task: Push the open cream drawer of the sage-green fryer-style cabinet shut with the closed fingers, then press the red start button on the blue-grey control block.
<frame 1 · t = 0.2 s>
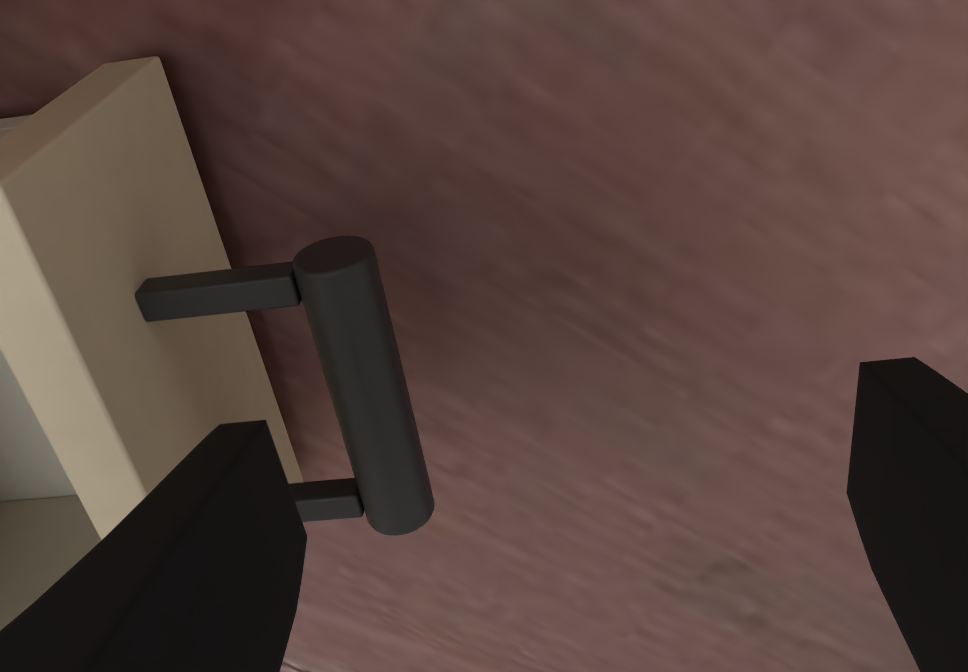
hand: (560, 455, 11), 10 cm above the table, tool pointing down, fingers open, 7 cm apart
drawer: (8, 407, 18), point 4 cm above the table, slide at 5.0 cm
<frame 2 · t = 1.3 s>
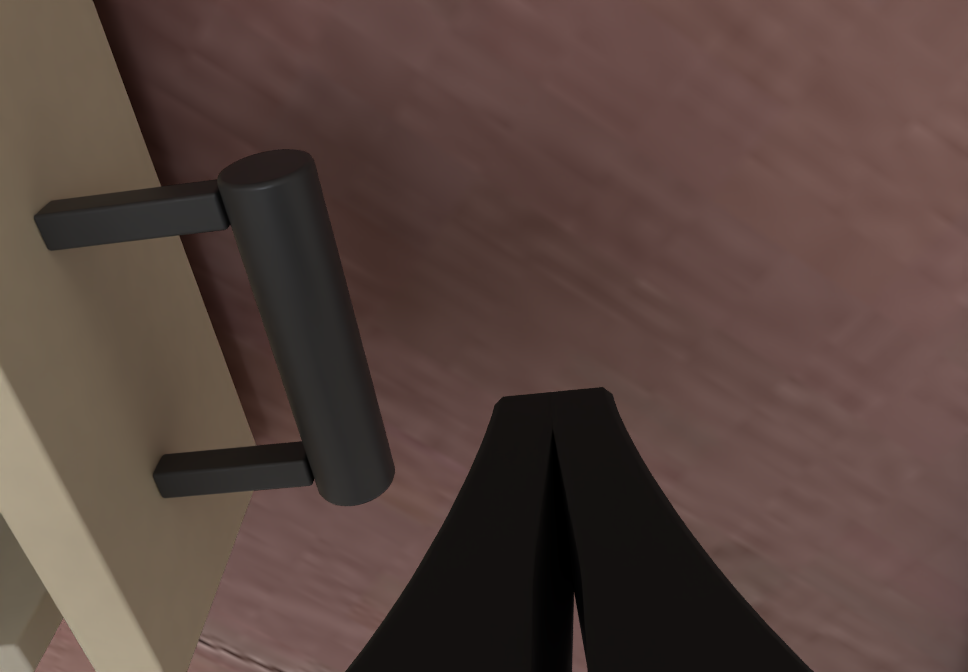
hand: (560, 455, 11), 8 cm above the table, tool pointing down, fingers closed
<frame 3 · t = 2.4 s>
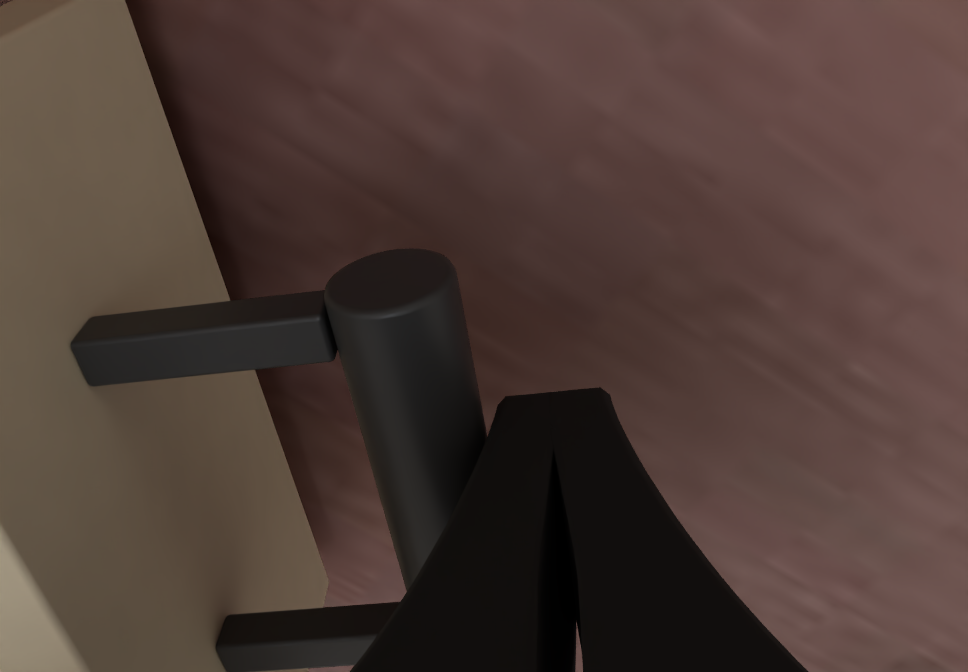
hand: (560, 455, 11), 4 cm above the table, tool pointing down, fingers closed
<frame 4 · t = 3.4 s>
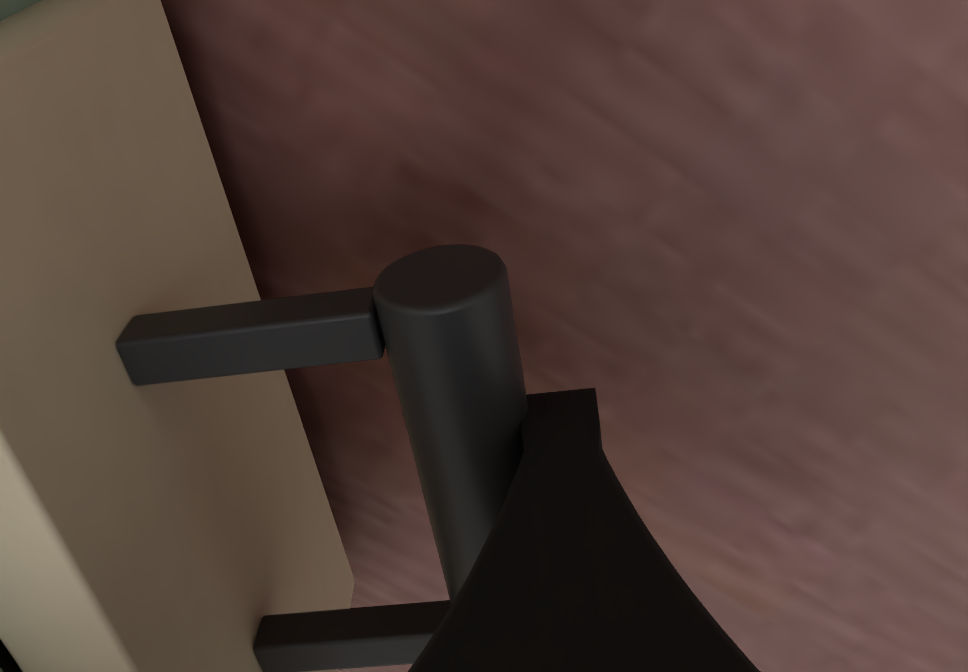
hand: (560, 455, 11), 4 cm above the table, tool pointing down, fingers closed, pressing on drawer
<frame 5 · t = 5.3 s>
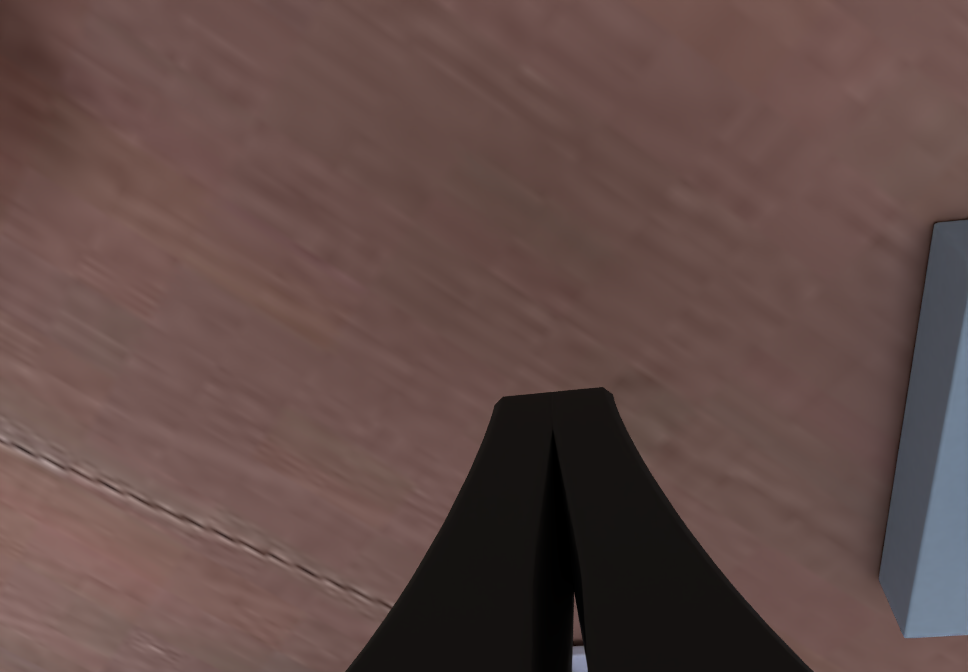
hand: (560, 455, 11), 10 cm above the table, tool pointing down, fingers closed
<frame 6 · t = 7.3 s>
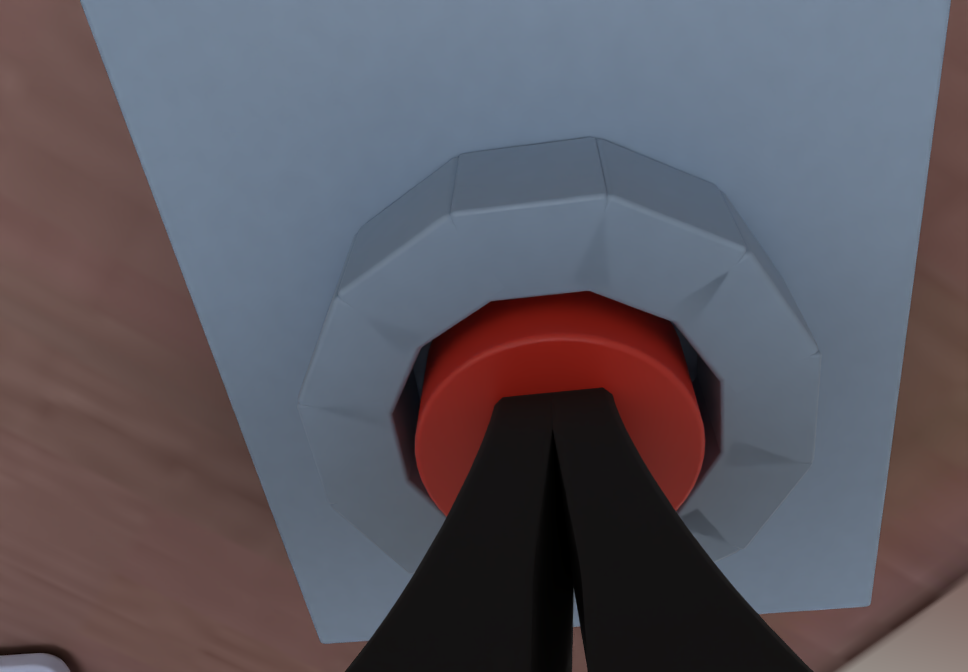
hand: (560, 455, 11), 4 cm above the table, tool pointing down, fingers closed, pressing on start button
start button: (556, 414, 12), point 4 cm above the table, slide at -0.8 cm, touching gripper
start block: (548, 282, 15), on the table
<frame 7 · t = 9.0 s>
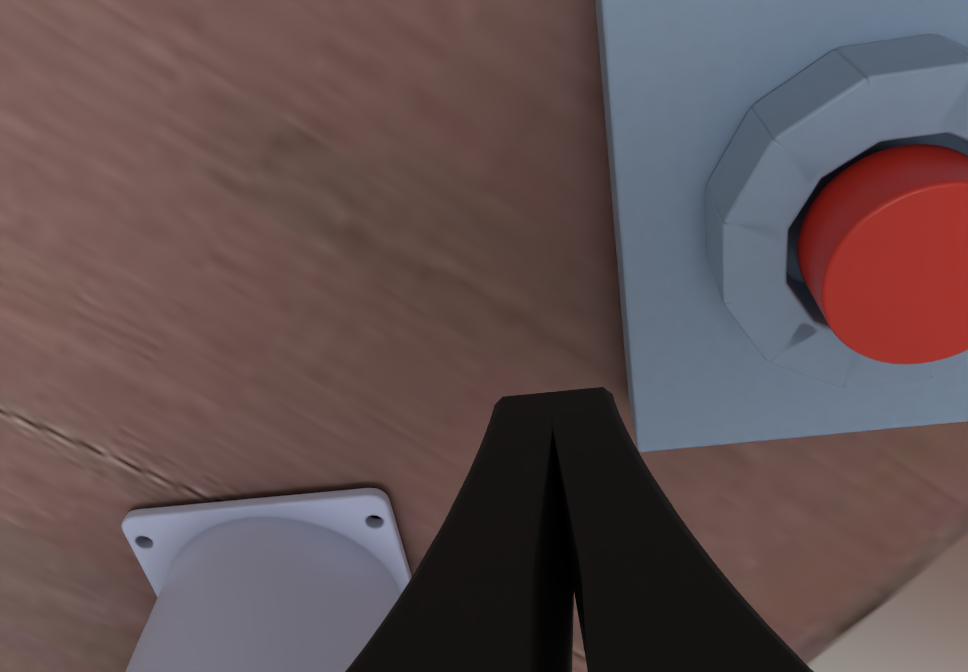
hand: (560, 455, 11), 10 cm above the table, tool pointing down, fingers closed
start button: (912, 256, 16), point 4 cm above the table, slide at 0.1 cm
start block: (837, 161, 20), on the table
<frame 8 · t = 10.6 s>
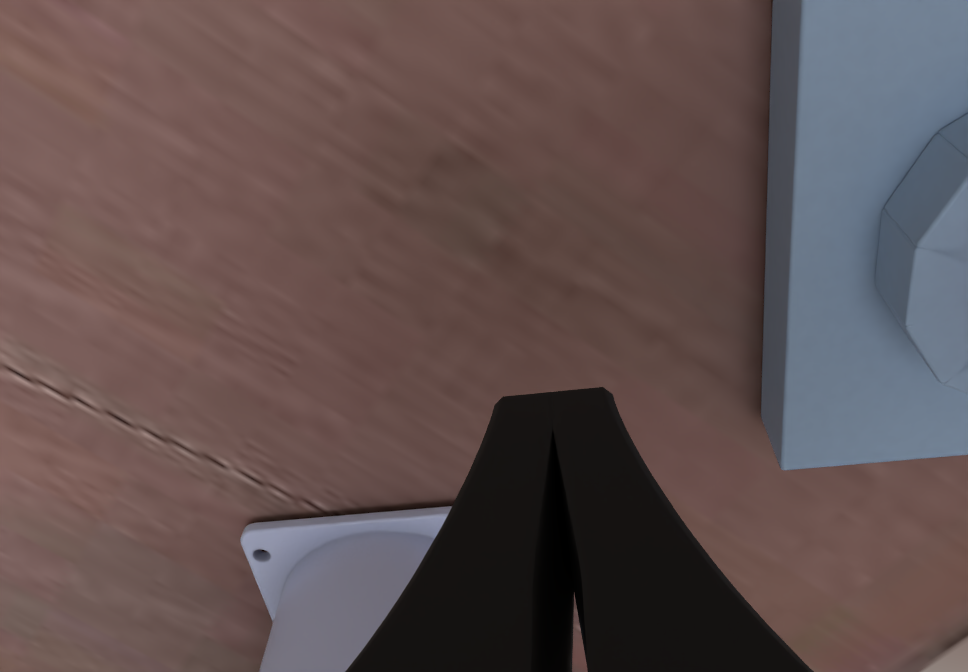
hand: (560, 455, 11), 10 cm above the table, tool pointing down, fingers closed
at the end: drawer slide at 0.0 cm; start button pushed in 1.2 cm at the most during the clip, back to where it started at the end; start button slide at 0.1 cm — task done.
